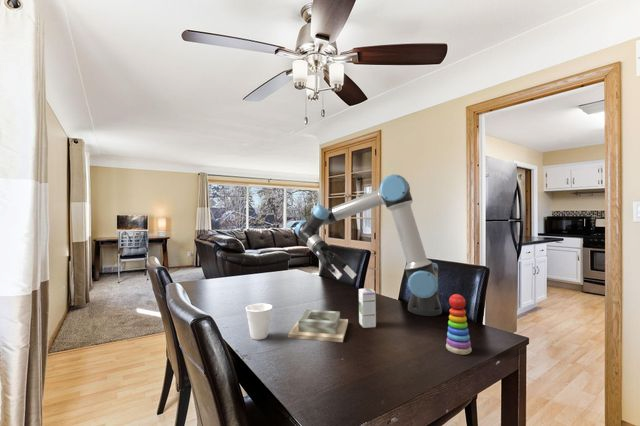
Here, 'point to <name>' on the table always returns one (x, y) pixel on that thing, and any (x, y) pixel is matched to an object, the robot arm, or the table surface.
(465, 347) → the stacking toy
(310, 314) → the socket block
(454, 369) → the table surface
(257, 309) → the cup
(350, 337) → the table surface
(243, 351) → the table surface
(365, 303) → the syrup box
